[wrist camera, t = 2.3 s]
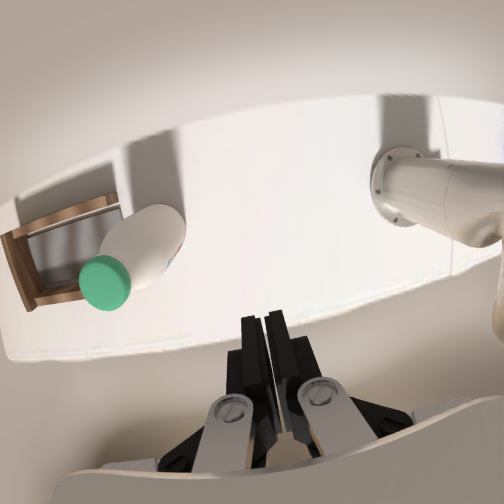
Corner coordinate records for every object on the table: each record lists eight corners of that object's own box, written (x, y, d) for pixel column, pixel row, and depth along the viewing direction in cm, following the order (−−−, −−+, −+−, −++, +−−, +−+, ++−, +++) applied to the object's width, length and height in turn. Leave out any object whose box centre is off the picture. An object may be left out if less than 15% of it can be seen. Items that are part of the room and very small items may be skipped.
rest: (116, 192, 37) (97, 197, 31) (141, 280, 41) (128, 297, 35) (20, 227, 37) (-1, 235, 31) (43, 297, 41) (27, 311, 36)
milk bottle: (134, 205, 38) (54, 243, 18) (185, 201, 38) (135, 238, 19) (140, 255, 40) (75, 326, 21) (189, 254, 40) (151, 330, 21)
